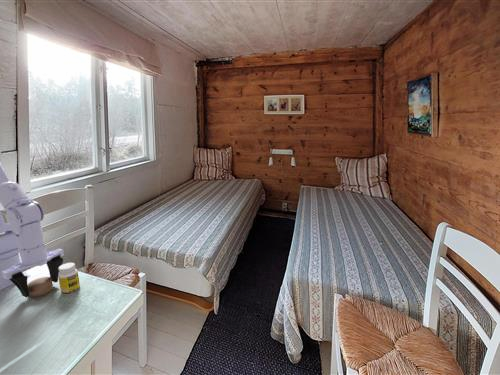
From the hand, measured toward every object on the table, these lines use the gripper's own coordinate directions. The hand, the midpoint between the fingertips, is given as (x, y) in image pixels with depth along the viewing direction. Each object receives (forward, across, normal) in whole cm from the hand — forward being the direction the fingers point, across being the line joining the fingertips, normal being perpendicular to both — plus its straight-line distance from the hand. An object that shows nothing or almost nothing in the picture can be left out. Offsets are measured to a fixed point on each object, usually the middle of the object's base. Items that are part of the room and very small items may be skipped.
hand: (40, 288), depth 78 cm
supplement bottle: (+2, +4, -7) cm, 8 cm away
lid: (+1, 0, 0) cm, 1 cm away
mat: (+2, 0, 0) cm, 2 cm away
